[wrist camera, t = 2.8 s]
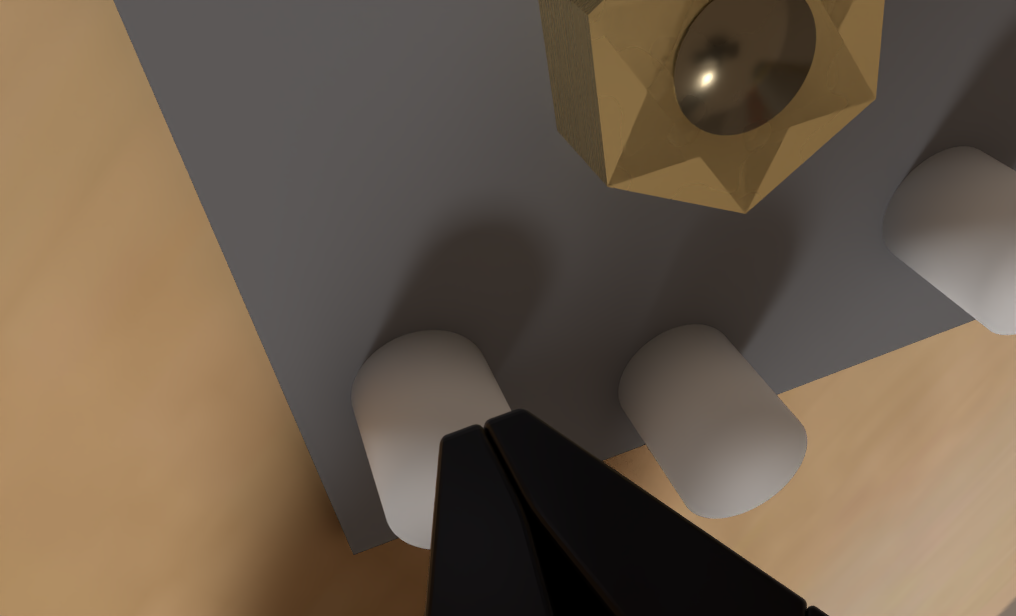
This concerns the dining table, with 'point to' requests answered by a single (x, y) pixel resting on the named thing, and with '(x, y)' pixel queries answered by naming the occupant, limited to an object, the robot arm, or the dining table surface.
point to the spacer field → (566, 240)
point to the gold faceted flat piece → (707, 89)
